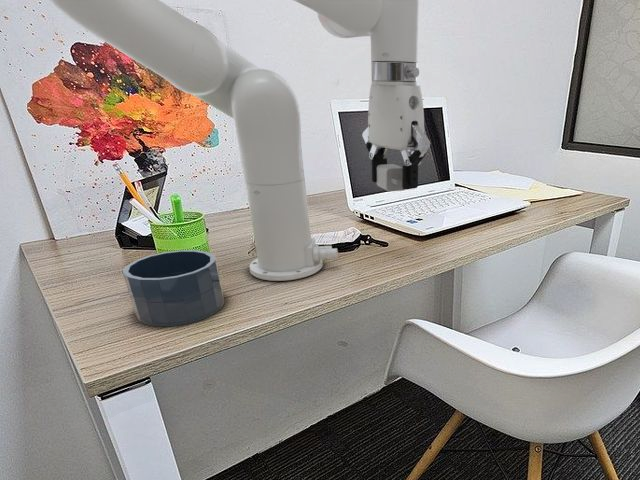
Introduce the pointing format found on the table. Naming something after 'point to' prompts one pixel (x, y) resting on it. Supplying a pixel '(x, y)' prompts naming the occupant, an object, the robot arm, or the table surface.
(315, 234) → the table surface
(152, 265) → the pot
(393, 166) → the usb wall charger
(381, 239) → the table surface
